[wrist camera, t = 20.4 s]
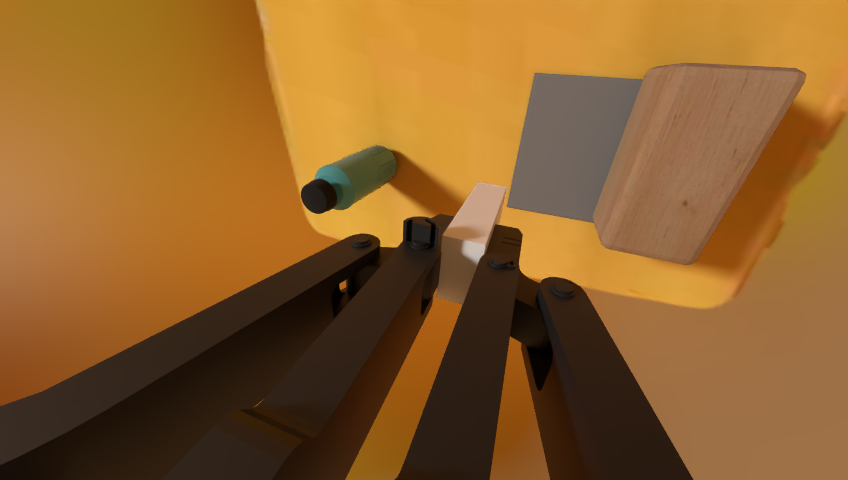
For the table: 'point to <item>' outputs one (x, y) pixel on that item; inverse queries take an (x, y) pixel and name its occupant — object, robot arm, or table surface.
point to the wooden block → (688, 154)
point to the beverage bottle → (349, 180)
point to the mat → (570, 142)
